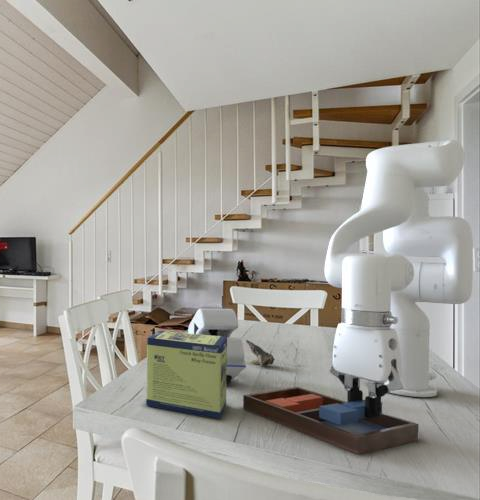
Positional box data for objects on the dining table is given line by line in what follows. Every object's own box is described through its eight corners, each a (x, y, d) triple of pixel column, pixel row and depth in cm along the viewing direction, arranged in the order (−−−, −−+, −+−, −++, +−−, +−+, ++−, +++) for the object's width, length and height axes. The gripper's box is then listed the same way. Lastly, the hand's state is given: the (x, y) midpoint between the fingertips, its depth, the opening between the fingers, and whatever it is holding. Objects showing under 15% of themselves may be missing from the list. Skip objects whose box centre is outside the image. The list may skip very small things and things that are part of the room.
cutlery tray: (297, 399, 111) (297, 386, 111) (418, 440, 88) (418, 423, 88) (243, 408, 105) (243, 394, 105) (358, 454, 83) (358, 437, 83)
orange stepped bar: (308, 403, 106) (308, 392, 106) (326, 409, 103) (326, 398, 102) (265, 410, 102) (265, 399, 102) (282, 417, 98) (282, 405, 98)
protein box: (221, 420, 99) (222, 345, 98) (145, 406, 107) (145, 336, 106) (227, 405, 107) (228, 336, 107) (156, 393, 116) (157, 329, 115)
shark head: (240, 363, 143) (240, 341, 143) (251, 360, 147) (251, 338, 147) (267, 369, 137) (267, 346, 136) (278, 366, 140) (278, 343, 140)
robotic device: (228, 401, 132) (214, 334, 143) (256, 375, 114) (238, 300, 125) (189, 400, 133) (178, 333, 144) (211, 373, 115) (197, 300, 126)
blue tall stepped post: (364, 409, 95) (364, 397, 95) (386, 416, 92) (387, 403, 92) (318, 417, 91) (319, 405, 91) (340, 425, 87) (340, 412, 87)
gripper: (427, 324, 86) (425, 426, 86) (336, 312, 101) (334, 399, 101) (400, 327, 83) (398, 432, 83) (311, 314, 98) (309, 403, 98)
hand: (363, 413), depth 92 cm, fingers closed on blue tall stepped post, 2 cm apart
